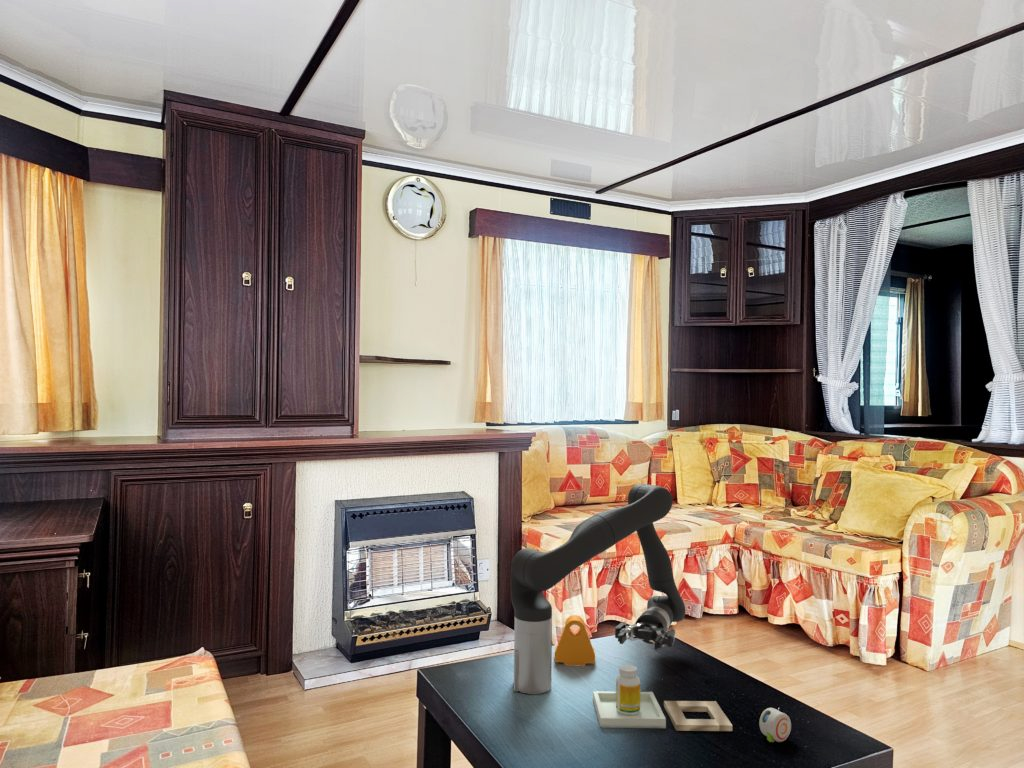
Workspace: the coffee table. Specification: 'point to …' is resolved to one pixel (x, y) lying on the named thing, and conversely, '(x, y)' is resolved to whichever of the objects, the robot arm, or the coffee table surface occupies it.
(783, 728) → the roller toy
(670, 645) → the robot arm
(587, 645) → the bracket
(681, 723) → the holder board
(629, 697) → the supplement bottle
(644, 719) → the tray
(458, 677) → the coffee table surface
